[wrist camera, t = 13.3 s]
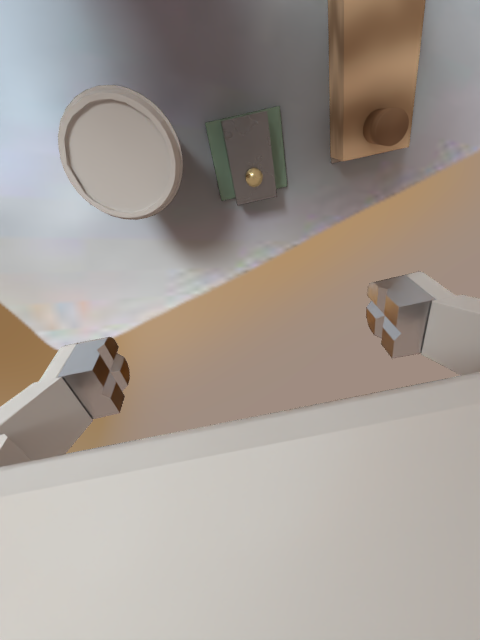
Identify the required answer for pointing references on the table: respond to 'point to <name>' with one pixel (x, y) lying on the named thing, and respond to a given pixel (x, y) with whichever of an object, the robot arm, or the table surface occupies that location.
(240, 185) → the lever cap
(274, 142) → the felt pad
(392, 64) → the plane body
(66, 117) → the disposable coffee cup
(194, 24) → the table surface
